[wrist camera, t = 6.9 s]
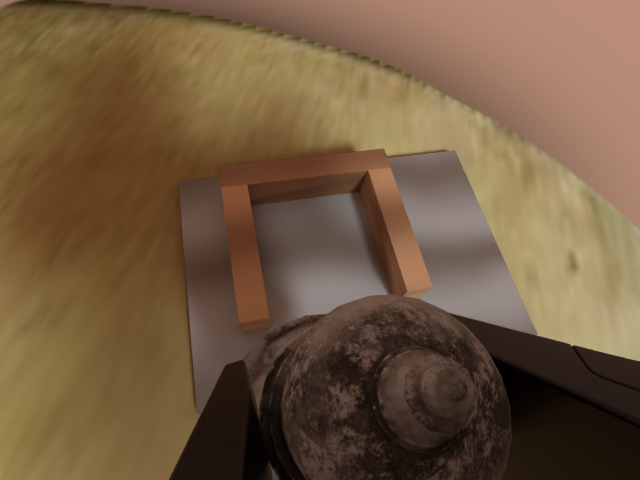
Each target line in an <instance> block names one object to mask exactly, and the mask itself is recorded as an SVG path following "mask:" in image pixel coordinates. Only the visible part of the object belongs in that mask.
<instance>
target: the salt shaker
mask: <svg viewBox="0 0 640 480" xmlns="http://www.w3.org/2000/svg"><path fill="white" fill-rule="evenodd" d="M243 360H244V361H245V363H246V366H247V370H248V373H249V377H250V381H251V384H252V388H253V392H254V395H255V399H256V404H257V408H258V412H259V416H260V426H261V430H262V435H263V439H264V444H265V449H266V454H267V457H268V461H269V463H270V465H271V471H272V478H273V480H501V479H502V477H503V475H504V473H505V471H506V469H507V465H508V459H509V453H510V447H511V441H512V425H511V411H510V403H509V400H508V397H507V394H506V390H505V387H504V384H503V381H502V377H501V375H500V373H499V371H498V369H497V368H496V366H495V364H494V362H493V360H492V359H491V357H490V355H489V353H488V351H487V350H486V348H485V347H484V346H483V345H482V344H481V343H480V341H479V340H478V339H477V338H476V337H475V336H474V335H473V333H472V332H471V331H470V330H469V329H468V328H467V327H466V326H465V325H464V324H462V323H461V322H460V321H458V320H457V319H456V318H454V317H453V316H452V315H450V314H449V313H448V312H446V311H445V310H443V309H441V308H438V307H436V306H434V305H432V304H430V303H427V302H425V301H423V300H421V299H417V298H411V297H406V296H401V295H396V294H389V295H373V296H367V297H364V298H361V299H358V300H355V301H352V302H349V303H346V304H343V305H340V306H338V307H337V308H335V309H334V310H332V311H331V312H329V313H328V314H317V315H306V316H303V317H300V318H297V319H294V320H291V321H288V322H285V323H283V324H281V325H280V326H278V327H277V328H275V329H274V330H272V331H271V332H269V333H268V334H266V335H265V336H263V337H262V338H261V339H260V340H259V341H258V342H257V344H256V345H255V346H254V347H253V348H252V349H251V350H250V351H249V353H248V354H247V355H246V356H245V357H244V359H243Z"/></svg>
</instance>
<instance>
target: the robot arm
mask: <svg viewBox="0 0 640 480" xmlns="http://www.w3.org/2000/svg"><path fill="white" fill-rule="evenodd" d="M449 314H450V315H452V316H453V317H454V318H456V319H457V320H458V321H460V322H461V323H462V324H464V325H465V326H466V327H467V328H468V329H469V330H470V331H471V332H472V333H473V335H474V336H475V337H476V338H477V339H478V340H479V341H480V343H481V344H482V345H483V346H484V347H485V348H486V350H487V351H488V353H489V355H490V357H491V359H492V360H493V362H494V364H495V366H496V368H497V369H498V371H499V373H500V375H501V377H502V381H503V384H504V387H505V390H506V394H507V397H508V400H509V403H510V411H511V425H512V441H511V447H510V453H509V459H508V465H507V469H506V471H505V473H504V475H503V477H502V479H501V480H640V361H636V360H631V359H627V358H623V357H619V356H614V355H610V354H606V353H602V352H598V351H594V350H590V349H587V348H583V347H579V346H575V345H574V346H571V345H570V344H567V343H563V342H560V341H556V340H552V339H548V338H544V337H540V336H536V335H533V334H529V333H525V332H521V331H517V330H513V329H510V328H506V327H502V326H498V325H494V324H490V323H486V322H483V321H479V320H475V319H471V318H467V317H463V316H460V315H456V314H452V313H449ZM169 480H273V478H272V471H271V465H270V463H269V461H268V457H267V454H266V449H265V444H264V439H263V435H262V430H261V426H260V416H259V412H258V408H257V404H256V399H255V395H254V392H253V388H252V384H251V381H250V377H249V373H248V370H247V366H246V363H245V361H244V360H239V361H235V362H232V363H229V364H227V365H225V366H224V368H223V370H222V372H221V374H220V376H219V378H218V380H217V382H216V384H215V386H214V388H213V390H212V392H211V395H210V397H209V399H208V401H207V403H206V405H205V407H204V409H203V411H202V413H201V415H200V417H199V419H198V421H197V423H196V425H195V427H194V429H193V431H192V433H191V435H190V437H189V439H188V441H187V443H186V446H185V448H184V450H183V452H182V454H181V456H180V458H179V460H178V462H177V464H176V466H175V468H174V470H173V472H172V474H171V476H170V478H169Z"/></svg>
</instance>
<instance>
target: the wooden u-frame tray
mask: <svg viewBox="0 0 640 480" xmlns="http://www.w3.org/2000/svg"><path fill="white" fill-rule="evenodd" d="M218 167H219V175H220V177H215V178H206V179H198V180H189V181H180V182H179V195H180V207H181V220H182V232H183V245H184V258H185V270H186V283H187V295H188V308H189V320H190V333H191V346H192V358H193V371H194V383H195V396H196V408H197V413H202V411H203V409H204V407H205V405H206V403H207V401H208V399H209V397H210V395H211V392H212V390H213V388H214V386H215V384H216V382H217V380H218V378H219V376H220V374H221V372H222V370H223V368H224V366H225V365H227V364H229V363H232V362H235V361H239V360H243V359H244V357H245V356H246V355H247V354H248V353H249V351H250V350H251V349H252V348H253V347H254V346H255V345H256V344H257V342H258V341H259V340H260V339H261V338H262V337H263V336H265V335H266V334H268V333H269V332H271V331H272V330H274V329H275V328H277V327H278V326H280V325H281V324H283V323H285V322H288V321H291V320H294V319H297V318H300V317H303V316H306V315H317V314H328V313H329V312H331V311H332V310H334V309H335V308H337V307H338V306H340V305H343V304H346V303H349V302H352V301H355V300H358V299H361V298H364V297H367V296H373V295H389V294H396V295H401V296H406V297H411V298H417V299H421V300H423V301H425V302H427V303H430V304H432V305H434V306H436V307H438V308H441V309H443V310H445V311H446V312H448V313H452V314H456V315H460V316H463V317H467V318H471V319H475V320H479V321H483V322H486V323H490V324H494V325H498V326H502V327H506V328H510V329H513V330H517V331H521V332H525V333H529V334H533V335H537V333H536V330H535V328H534V326H533V324H532V321H531V319H530V317H529V315H528V312H527V310H526V308H525V306H524V304H523V301H522V299H521V297H520V295H519V292H518V290H517V288H516V286H515V283H514V281H513V279H512V277H511V275H510V272H509V270H508V268H507V266H506V263H505V261H504V259H503V257H502V254H501V252H500V250H499V248H498V246H497V243H496V241H495V239H494V237H493V234H492V232H491V230H490V228H489V225H488V223H487V221H486V219H485V217H484V214H483V212H482V210H481V208H480V205H479V203H478V201H477V199H476V196H475V194H474V192H473V190H472V188H471V185H470V183H469V181H468V179H467V176H466V174H465V172H464V170H463V167H462V165H461V163H460V161H459V159H458V156H457V154H456V152H455V150H454V151H446V152H437V153H428V154H419V155H410V156H401V157H392V158H387V156H386V153H385V151H384V149H376V150H367V151H358V152H348V153H339V154H330V155H320V156H311V157H302V158H292V159H283V160H274V161H265V162H255V163H246V164H237V165H227V166H218Z"/></svg>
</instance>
